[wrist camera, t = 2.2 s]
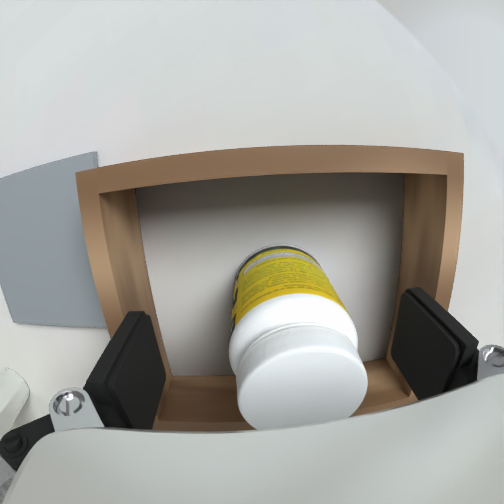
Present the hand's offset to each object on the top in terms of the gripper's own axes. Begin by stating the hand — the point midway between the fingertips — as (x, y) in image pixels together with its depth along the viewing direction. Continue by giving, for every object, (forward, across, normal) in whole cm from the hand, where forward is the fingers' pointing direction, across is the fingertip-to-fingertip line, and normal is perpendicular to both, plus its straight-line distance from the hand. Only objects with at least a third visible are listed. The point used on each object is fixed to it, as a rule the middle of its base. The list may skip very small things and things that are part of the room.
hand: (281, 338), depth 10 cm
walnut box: (+6, -1, +1) cm, 6 cm away
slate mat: (+6, +13, -2) cm, 15 cm away
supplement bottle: (+6, -1, +1) cm, 6 cm away
